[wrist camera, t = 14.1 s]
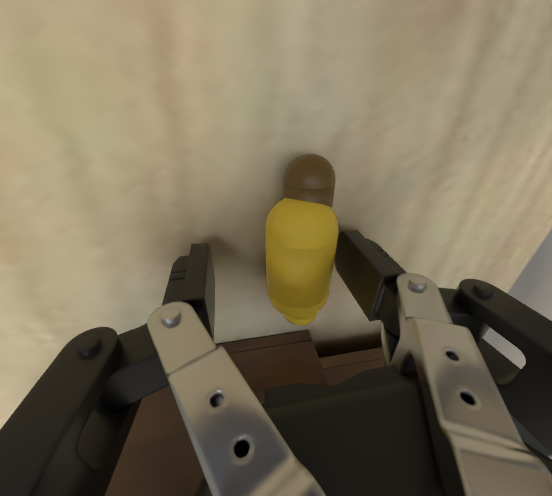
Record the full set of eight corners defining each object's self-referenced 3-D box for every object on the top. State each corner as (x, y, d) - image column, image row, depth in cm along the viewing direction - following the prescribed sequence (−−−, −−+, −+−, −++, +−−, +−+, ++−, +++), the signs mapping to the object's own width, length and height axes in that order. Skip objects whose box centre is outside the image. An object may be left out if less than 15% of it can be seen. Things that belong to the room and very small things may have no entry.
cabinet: (308, 329, 16) (385, 537, 9) (297, 433, 24) (333, 590, 16) (55, 368, 14) (-139, 698, 6) (133, 469, 22) (87, 671, 14)
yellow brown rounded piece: (246, 160, 9) (327, 174, 7) (292, 146, 11) (362, 154, 9) (256, 332, 13) (306, 361, 12) (287, 298, 15) (332, 319, 14)
